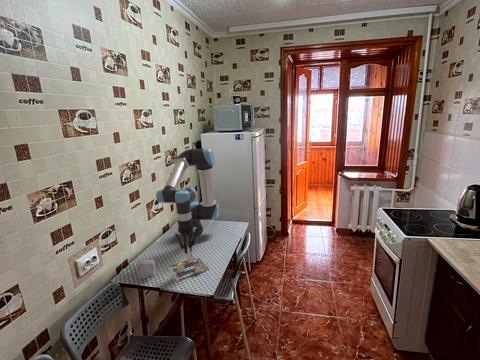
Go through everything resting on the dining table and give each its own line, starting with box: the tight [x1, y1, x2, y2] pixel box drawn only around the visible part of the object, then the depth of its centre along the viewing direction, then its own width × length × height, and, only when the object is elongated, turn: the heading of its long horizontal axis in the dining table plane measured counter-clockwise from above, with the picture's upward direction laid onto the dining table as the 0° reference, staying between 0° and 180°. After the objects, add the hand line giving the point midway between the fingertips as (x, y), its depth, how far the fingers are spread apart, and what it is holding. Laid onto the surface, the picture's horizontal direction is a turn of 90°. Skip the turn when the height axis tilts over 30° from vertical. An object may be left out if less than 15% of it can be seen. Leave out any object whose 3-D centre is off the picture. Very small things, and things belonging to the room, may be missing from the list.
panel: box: [168, 257, 211, 282], centre depth 148 cm, size 16×22×2 cm
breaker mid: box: [176, 262, 186, 273], centre depth 144 cm, size 3×3×4 cm
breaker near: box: [193, 262, 203, 274], centre depth 143 cm, size 3×3×4 cm
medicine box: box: [137, 259, 157, 279], centre depth 143 cm, size 8×4×9 cm, turn 92°
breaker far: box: [186, 253, 195, 264], centre depth 153 cm, size 3×3×4 cm
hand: (188, 257), depth 146 cm, fingers closed
